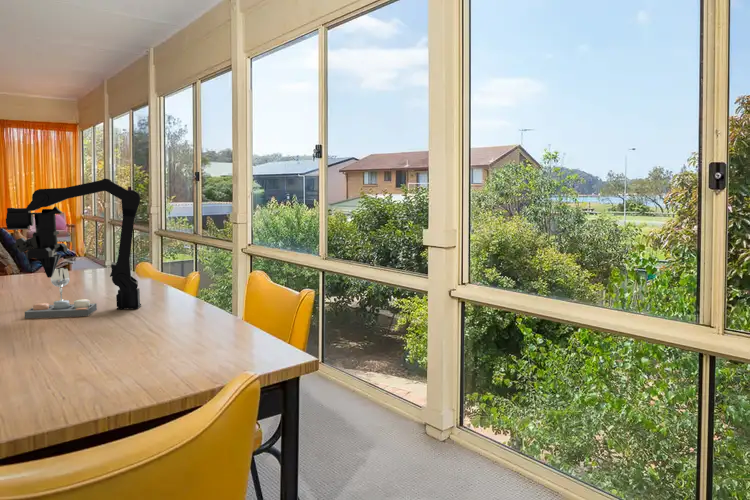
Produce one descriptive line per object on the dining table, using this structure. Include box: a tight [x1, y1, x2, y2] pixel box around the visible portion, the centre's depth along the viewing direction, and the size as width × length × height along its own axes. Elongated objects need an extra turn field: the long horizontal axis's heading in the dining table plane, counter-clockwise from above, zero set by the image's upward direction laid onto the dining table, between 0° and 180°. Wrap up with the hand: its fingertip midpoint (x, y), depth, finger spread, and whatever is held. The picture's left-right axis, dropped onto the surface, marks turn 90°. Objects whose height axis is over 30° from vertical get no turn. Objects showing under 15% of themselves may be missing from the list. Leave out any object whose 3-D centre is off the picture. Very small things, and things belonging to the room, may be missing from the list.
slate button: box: [53, 299, 70, 309], centre depth 181 cm, size 4×4×3 cm
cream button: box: [73, 299, 91, 309], centre depth 182 cm, size 4×4×3 cm
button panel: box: [24, 303, 97, 319], centre depth 181 cm, size 18×10×2 cm, turn 102°
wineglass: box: [50, 267, 70, 300], centre depth 198 cm, size 6×6×12 cm
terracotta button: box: [32, 302, 50, 310], centre depth 180 cm, size 4×4×3 cm
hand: (49, 277), depth 181 cm, fingers closed
